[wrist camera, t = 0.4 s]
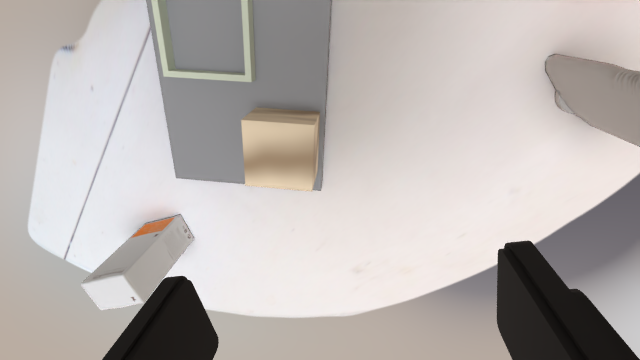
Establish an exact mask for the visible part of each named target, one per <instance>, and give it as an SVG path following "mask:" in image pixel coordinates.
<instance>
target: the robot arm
mask: <svg viewBox="0 0 640 360" xmlns="http://www.w3.org/2000/svg"><path fill="white" fill-rule="evenodd" d="M497 324H498V328H499V331H500V333H501V336H502V338H503V340H504V342H505V344H506V346H507V349H508V351H509V353H510V355H511V357H512V359H513V360H640V359H639V358H638V357H637V356H636V355H635V354H634V352H633V351H632V350H631V349H630V348H629V346H628V345H627V344H626V343H625V342H624V340H623V339H622V338H621V337H620V336H619V334H618V333H617V332H616V331H615V330H614V329H613V327H612V326H611V325H610V324H609V323H608V321H607V320H606V319H605V318H604V317H603V315H602V314H601V313H600V312H599V311H598V310H597V308H596V307H595V306H594V305H593V303H592V302H591V301H590V300H589V299H588V298H587V296H586V295H584V293H582V292H581V291H580V290H578V289H569V288H568V287H567V286H566V285H565V284H564V282H563V281H562V280H561V278H560V277H559V276H558V275H557V274H556V272H555V271H554V270H553V268H552V267H551V266H550V265H549V263H548V262H547V261H546V260H545V258H544V257H543V256H542V255H541V253H540V252H539V251H538V250H537V248H536V247H535V246H534V245H533V243H532V242H531V241H521V242H511V243H506V244H505V246H504V249H499V250H498V281H497ZM217 348H218V336H217V334H216V332H215V330H214V328H213V326H212V323H211V321H210V319H209V317H208V315H207V313H206V311H205V309H204V307H203V305H202V303H201V301H200V298H199V296H198V294H197V292H196V290H195V288H194V286H193V284H192V282H191V281H190V280H187V278H186V277H184V276H176V277H167V278H165V279H164V280H162V282H161V283H160V284H159V286H158V287H157V288H156V290H155V291H154V292H153V293H152V295H151V296H150V298H149V299H148V300H147V301H146V303H145V304H144V306H143V307H142V308H141V309H140V311H139V312H138V313H137V315H136V316H135V317H134V319H133V320H132V321H131V323H130V324H129V325H128V327H127V328H126V329H125V330H124V332H123V333H122V334H121V336H120V337H119V338H118V340H117V341H116V342H115V343H114V345H113V346H112V347H111V349H110V350H109V351H108V353H107V354H106V355H105V357H104V358H103V359H102V360H213V358H214V355H215V353H216V351H217Z"/></svg>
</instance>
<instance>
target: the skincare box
mask: <svg viewBox="0 0 640 360" xmlns="http://www.w3.org/2000/svg"><path fill="white" fill-rule="evenodd" d="M193 239H194V238H193V236H192V234H191V232H190V230H189V229H188V227H187V225H186V224H185V222H184V220H183V218H182V216H181V215H177V216H174V217H170V218H166V219H162V220H158V221H154V222H149V223H145V224H144V225H143V226H142V227H141V228H140V229H139V230H138V231H137V232H136V233H135V234H133V235H132V236H131V237H130V238H129V239H128V240H127V241H126V242H125V243H124V244H123V245H122V246H121V247H119V248H118V249H117V250H116V251H115V252H114V253H113V254H112V255H111V256H110V257H109V258H108V259H107V260H106V261H104V262H103V263H102V264H101V265H100V266H99V267H98V268H97V269H96V270H95V271H94V272H93V273H92V274H91V275H90V276H88V277H87V278H86V279H85V280H84V281H83V282H82V283H81V286H82V287H83V288H84V290H85V291H86V292H87V294H88V295H89V296H90V297H91V299H92V300H93V301H94V302H95V304H96V305H97V306H98V308H99V309H100V310H106V309H113V308H122V307H126V306H130V305H135V304H140V303H144V302H145V301H146V300H147V298H148V297H149V296H150V295H151V293H152V292H153V291H154V290H155V288H156V287H157V286H158V284H159V283H160V282H161V280H162V279H163V278H164V277H165V275H166V274H167V273H168V271H169V270H170V269H171V268H172V266H173V265H174V264H175V262H176V261H177V260H178V259H179V257H180V256H181V255H182V253H183V252H184V251H185V250H186V248H187V247H188V246H189V244H190V243H191V242H192V241H193Z"/></svg>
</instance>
